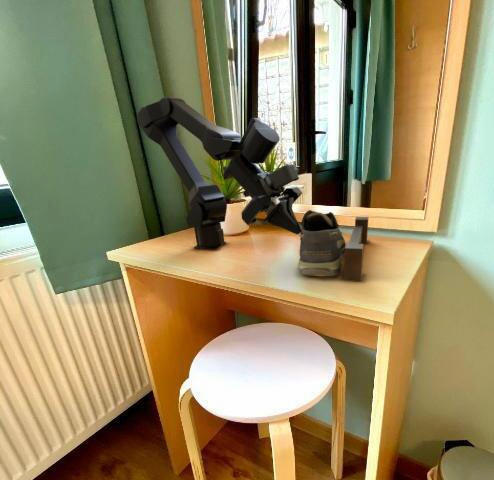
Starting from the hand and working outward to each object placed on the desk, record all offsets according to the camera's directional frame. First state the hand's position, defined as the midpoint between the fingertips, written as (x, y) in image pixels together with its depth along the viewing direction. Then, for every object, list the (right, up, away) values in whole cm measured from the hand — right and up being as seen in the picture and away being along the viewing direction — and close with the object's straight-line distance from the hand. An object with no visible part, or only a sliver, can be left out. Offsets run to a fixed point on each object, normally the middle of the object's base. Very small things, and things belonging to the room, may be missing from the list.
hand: (299, 232), depth 66 cm
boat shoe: (+6, -5, +5) cm, 9 cm away
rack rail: (+13, -5, +4) cm, 14 cm away
